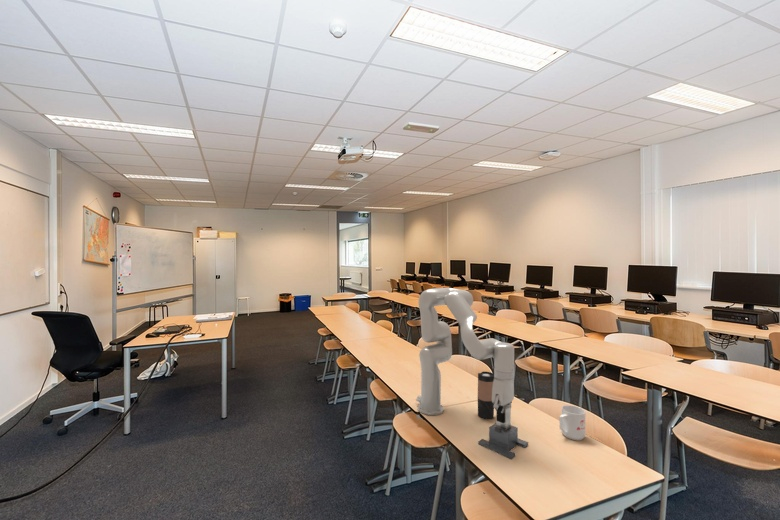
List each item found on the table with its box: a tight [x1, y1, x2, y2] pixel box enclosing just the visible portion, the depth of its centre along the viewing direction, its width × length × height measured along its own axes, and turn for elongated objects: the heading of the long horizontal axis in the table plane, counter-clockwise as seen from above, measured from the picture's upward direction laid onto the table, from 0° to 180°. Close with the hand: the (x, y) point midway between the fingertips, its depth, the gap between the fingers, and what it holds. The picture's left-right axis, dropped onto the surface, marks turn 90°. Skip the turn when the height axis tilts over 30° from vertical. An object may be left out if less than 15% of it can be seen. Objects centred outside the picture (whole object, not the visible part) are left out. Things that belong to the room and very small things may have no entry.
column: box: [495, 402, 512, 432], centre depth 136 cm, size 4×4×16 cm
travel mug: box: [477, 371, 495, 421], centre depth 161 cm, size 8×8×20 cm
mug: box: [558, 404, 586, 441], centre depth 143 cm, size 12×9×11 cm
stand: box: [478, 422, 529, 460], centre depth 136 cm, size 14×14×8 cm
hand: (503, 419), depth 136 cm, fingers closed on column, 4 cm apart
